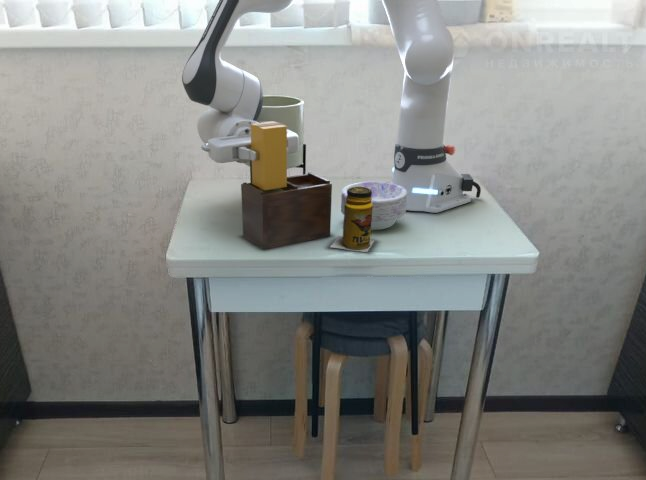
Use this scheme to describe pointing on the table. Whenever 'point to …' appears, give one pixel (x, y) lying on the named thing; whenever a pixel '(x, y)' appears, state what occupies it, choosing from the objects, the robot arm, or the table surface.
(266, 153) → the package
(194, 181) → the table surface
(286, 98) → the planter
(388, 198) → the paper bowls
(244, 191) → the rack
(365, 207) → the condiment
